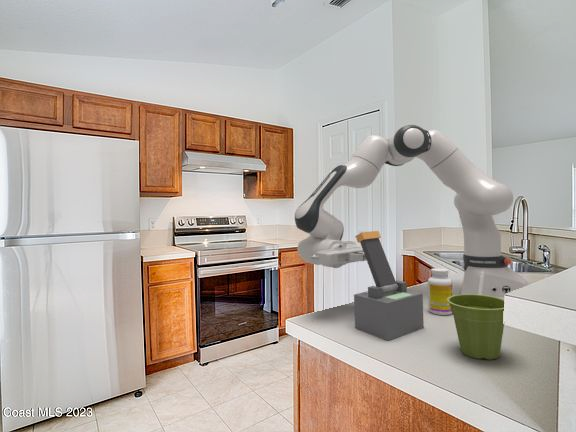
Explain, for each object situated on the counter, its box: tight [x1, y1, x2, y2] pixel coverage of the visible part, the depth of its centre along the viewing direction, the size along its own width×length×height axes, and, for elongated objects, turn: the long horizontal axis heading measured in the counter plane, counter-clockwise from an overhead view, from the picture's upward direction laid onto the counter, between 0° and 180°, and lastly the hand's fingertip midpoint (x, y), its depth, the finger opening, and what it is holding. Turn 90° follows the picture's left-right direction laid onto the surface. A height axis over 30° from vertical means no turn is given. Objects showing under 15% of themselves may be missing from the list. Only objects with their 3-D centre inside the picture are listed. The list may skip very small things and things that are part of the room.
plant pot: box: [447, 293, 505, 360], centre depth 70 cm, size 12×12×11 cm
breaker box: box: [353, 280, 425, 342], centre depth 86 cm, size 11×14×12 cm
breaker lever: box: [355, 230, 398, 294], centre depth 89 cm, size 3×7×17 cm, turn 123°
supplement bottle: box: [427, 267, 454, 316], centre depth 97 cm, size 7×7×13 cm
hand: (366, 257), depth 92 cm, fingers closed
